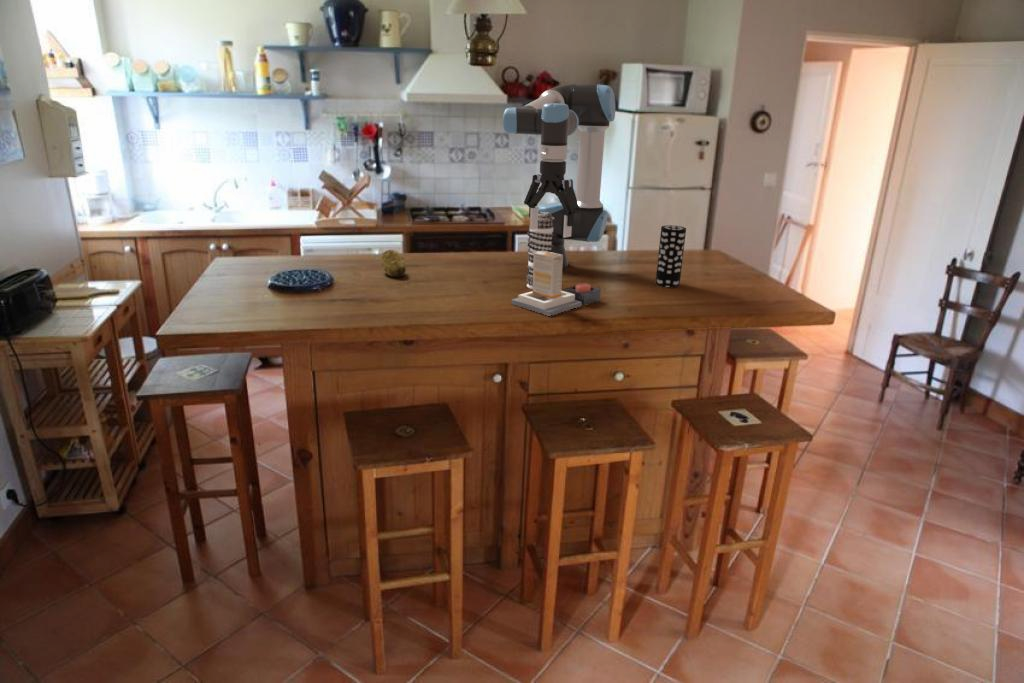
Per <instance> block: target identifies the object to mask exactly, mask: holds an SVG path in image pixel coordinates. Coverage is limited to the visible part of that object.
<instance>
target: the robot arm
mask: <svg viewBox="0 0 1024 683" xmlns="http://www.w3.org/2000/svg"><path fill="white" fill-rule="evenodd" d="M615 98H616V97H615V93H614V89H613V88H612V87H611V86H610V85H605V84H582V83H581V84H576V83H575V84H573V83H567V84H561V85H558V86H556V87H555V86H554V87H552V88H549V89H547V90H545V91H543V93H541V94H540V95H539V97H538V98H537V99H535V100H533V101H531V102H529V103H527V104H525V105H524V106H522V107H516V106H513V107H507V108H506V109H505V110H504V112H503V116H502V127H503V130H504V132H505V133H507V134H514V135H537V136H540V159H541V160H540V161H539V173H540V174H538V173H537V174H533V175H532V179H531V180H532V181H531V184H530V186H529V189H528V191H527V194H526V196H525V199H524V201H523V204H524V205H526V206H528V217H529V231H530V230H533V229H538V212H548V213H550V214H551V215H552V217H554V219H553V232H552V233H553V234H554V235H555V236H554V237H552V238H553V239H554V240H555V241H553V242H552V245H554V247H553V248H551V249H553V250H554V251H553V253H557V254H561V255H563V266H562V269H565V268H567V267H568V265H569V259H568V257H567V253H566V247H565V240H567V241H568V240H569V241H579V242H587V243H598V242H600V240H601V239H602V238H603V236H604V233H605V229H606V226H607V221H608V211H607V210H604V203H603V202H601V200H600V199H601V198H600V197H601V196H600V195H601V187H602V185H601V184H602V172H603V171H602V170H603V158H604V157H603V155H604V143H605V142H604V141H605V131H606V130H608V128H609V127H610V122H611V123H612V122H614V120H615V118H616V99H615ZM576 130H579V140H578V157H577V158H578V159H577V175H576V191H575V190H574V189H575V188H574V181H573V179H571V178H570V179H565V174H566V171H567V170H566V169H567V162H566V160H567V155H568V154H567V152H568V149H567V148H568V136H569V137H570V136H571V135H573V133H575V132H576ZM575 192H576V193H575ZM547 193H551V194H554V195H555V196H556V197H557V199H558V200H559V202H550V203H549V202H547V203H543V204H540V205H538V204H539V203H540V202H541V200H542V199H543V197H544V196H545V195H546V194H547ZM527 260H528V261H527V262H529V257H528V258H527Z"/></svg>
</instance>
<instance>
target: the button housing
mask: <svg viewBox="0 0 1024 683" xmlns="http://www.w3.org/2000/svg"><path fill="white" fill-rule="evenodd" d="M575 286H576V284H575V285H572V286H569V287H568V286H567V287H565V289H564V291H565V292H569V293H572V294H575V300H576V301H580V302H582V305H586V304H589V305H591V304H590V303H592V304H594V303H593V302H595V303H597V302H596V301H599V302H600V301H601V291H602V289H601V288H598V287H594V286H591V289H590V291H587V292H581V291H578V290H575ZM586 306H587V305H586Z"/></svg>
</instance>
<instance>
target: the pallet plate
mask: <svg viewBox="0 0 1024 683" xmlns="http://www.w3.org/2000/svg"><path fill="white" fill-rule="evenodd" d="M510 301H511V305H513V306H516V305H517V306H516V307H519V308H521V307H523V309H524V308H526V309H525V310H527V309H529V310H528V311H530V310H532V311H531V312H533V311H535V312H534V313H536V312H538V313H537V314H539V313H542V314H544V315H543V316H545V315H547V316H546V317H548V316H550V317H552V316H551V315H553V316H555V315H554V314H556V315H558V314H557V313H560V312H563V313H565V312H564V311H566V312H568V311H567V310H569V311H571V310H570V309H573V308H576V309H578V308H577V307H579V308H581V307H580V306H582V302H580V301H576V300H575V294H572V293H569V292H565V290H562V289H561V296H559V297H556V298H548V297H545V296H541V295H537V294H534V293H533V290H531V291H529V292H528V291H527V292H525V293H521V294H518V296H517V298H512V299H511V300H510ZM582 307H583V306H582ZM573 310H574V309H573ZM542 314H541V315H542ZM560 314H561V313H560Z"/></svg>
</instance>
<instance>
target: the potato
mask: <svg viewBox="0 0 1024 683" xmlns="http://www.w3.org/2000/svg"><path fill="white" fill-rule="evenodd" d="M380 262H381V266H382V267H383V269H384V272H385V273H386V275H388V276H389V277H394V278H395V277H396V278H400V277H402V276H404V275H405V274H406V270H407V269H406V265H405V261H404V258H403V256H402V255H401V254H400V253H399V252H398V251H397V250H394V249H388V250H385V251H384V252H383V253H382V255H381V259H380Z"/></svg>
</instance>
